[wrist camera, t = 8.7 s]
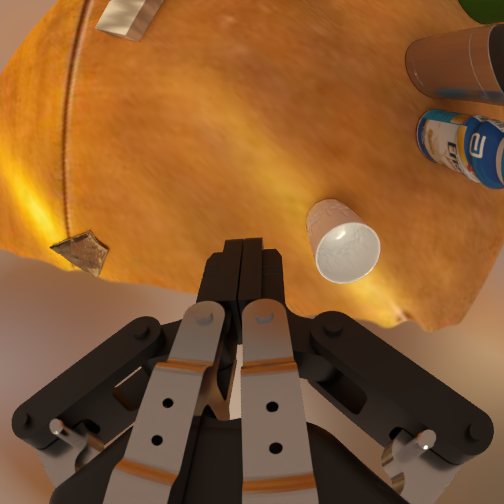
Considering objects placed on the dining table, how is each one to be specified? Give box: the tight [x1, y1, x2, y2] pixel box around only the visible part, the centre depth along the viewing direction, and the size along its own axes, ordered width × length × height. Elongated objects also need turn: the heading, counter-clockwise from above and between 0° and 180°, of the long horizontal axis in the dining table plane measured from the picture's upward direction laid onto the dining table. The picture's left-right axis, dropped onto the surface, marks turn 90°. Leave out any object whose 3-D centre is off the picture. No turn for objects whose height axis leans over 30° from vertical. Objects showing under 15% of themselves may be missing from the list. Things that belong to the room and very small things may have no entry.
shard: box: [50, 231, 108, 276], centre depth 41 cm, size 11×8×2 cm
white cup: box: [306, 199, 380, 284], centre depth 35 cm, size 8×8×10 cm
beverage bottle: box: [417, 109, 504, 189], centre depth 24 cm, size 8×8×20 cm
